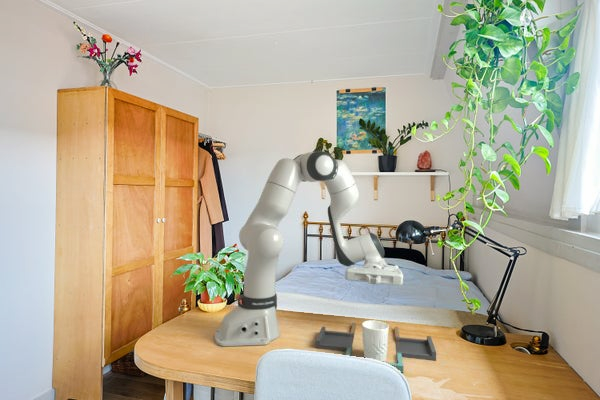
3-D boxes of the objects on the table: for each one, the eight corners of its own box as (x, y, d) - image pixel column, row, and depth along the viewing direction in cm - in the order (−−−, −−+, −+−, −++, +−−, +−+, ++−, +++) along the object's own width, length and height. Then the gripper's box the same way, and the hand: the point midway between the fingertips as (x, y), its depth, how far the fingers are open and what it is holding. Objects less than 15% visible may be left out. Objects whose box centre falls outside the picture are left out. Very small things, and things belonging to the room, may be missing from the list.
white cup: (359, 361, 107) (359, 327, 107) (364, 350, 115) (364, 319, 114) (386, 365, 104) (387, 331, 104) (389, 354, 112) (390, 322, 112)
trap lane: (326, 323, 137) (326, 317, 137) (426, 332, 129) (426, 325, 129) (309, 362, 106) (309, 354, 106) (441, 377, 98) (441, 368, 98)
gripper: (347, 261, 138) (342, 269, 125) (402, 265, 134) (404, 275, 120) (346, 277, 139) (342, 287, 125) (401, 282, 134) (403, 293, 121)
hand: (373, 281), depth 123 cm, fingers closed
